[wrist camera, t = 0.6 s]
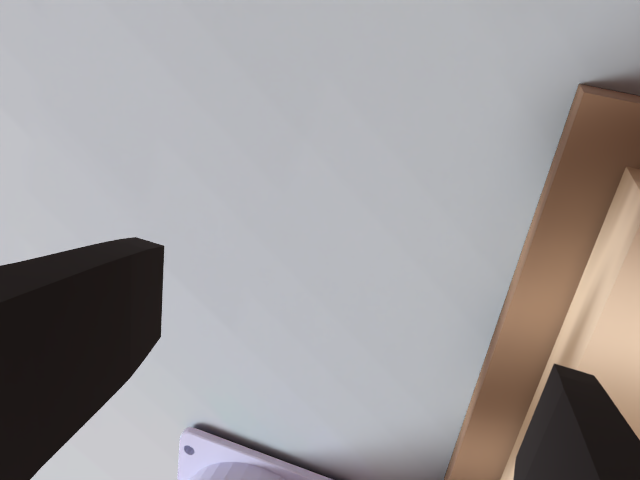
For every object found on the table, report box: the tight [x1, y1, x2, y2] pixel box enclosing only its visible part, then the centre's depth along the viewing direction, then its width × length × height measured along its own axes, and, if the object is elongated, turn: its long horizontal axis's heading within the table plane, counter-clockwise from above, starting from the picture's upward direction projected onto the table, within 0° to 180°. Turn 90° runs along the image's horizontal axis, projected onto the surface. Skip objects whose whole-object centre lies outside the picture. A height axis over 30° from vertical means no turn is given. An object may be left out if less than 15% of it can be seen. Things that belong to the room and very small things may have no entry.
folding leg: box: [500, 167, 640, 480], centre depth 16 cm, size 14×3×4 cm, turn 171°
